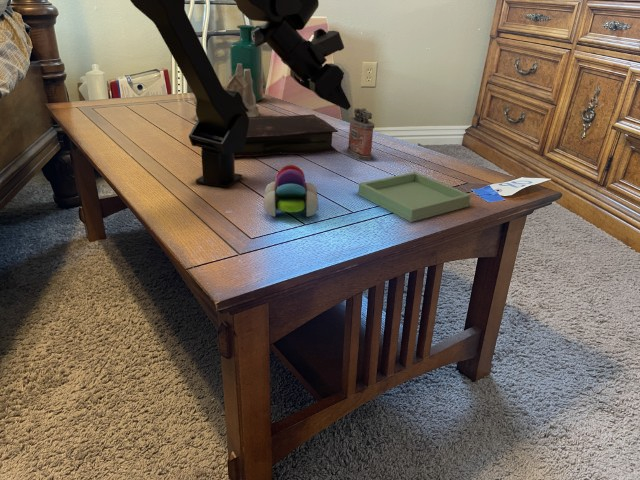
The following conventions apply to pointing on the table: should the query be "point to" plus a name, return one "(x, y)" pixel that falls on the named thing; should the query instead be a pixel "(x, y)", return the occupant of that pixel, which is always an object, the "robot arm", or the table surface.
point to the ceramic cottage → (242, 90)
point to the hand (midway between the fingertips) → (341, 103)
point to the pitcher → (248, 58)
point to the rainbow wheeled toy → (290, 193)
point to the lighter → (360, 134)
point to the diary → (287, 136)
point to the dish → (414, 196)
